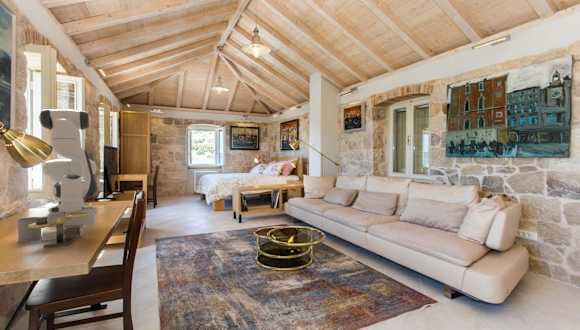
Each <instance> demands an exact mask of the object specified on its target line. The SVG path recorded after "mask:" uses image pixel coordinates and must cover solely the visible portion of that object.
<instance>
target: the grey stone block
mask: <svg viewBox="0 0 580 330" xmlns="http://www.w3.org/2000/svg"><path fill="white" fill-rule="evenodd" d="M41 239H42V240H41V241H42V242H43V241H51V240H52V239H57V237H56V228H55V229H47V230H42V232H41Z"/></svg>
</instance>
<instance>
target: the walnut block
mask: <svg viewBox="0 0 580 330" xmlns="http://www.w3.org/2000/svg"><path fill="white" fill-rule="evenodd" d="M64 230H65V235H64V238H75V240H76V239H78V238H79V237H81V234H78V231H79V230H81V225H78V226H67V227H66V228H64Z"/></svg>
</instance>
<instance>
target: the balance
mask: <svg viewBox="0 0 580 330" xmlns="http://www.w3.org/2000/svg"><path fill="white" fill-rule="evenodd" d="M88 215H89V213H85V212H81V213H71V214H67V215H65V218H68V219H64V220H63V219H57V220H56V222H47V216H36V217H37V218H36V223H33V224H30V225H28V228H41V229H43V228H49V227H48V226H52V225H55V224H56V227H55V229H56V239H52V240H48V242H46V243H44V244H43V246H42V247H43V248H45V249H46V248H55V247H66V246H67V247H68V246H69V245H71V244H72V243H74V242H75V241H76V239H75V238H65V237H64V235H63V223H64V222H66V221H70V220H73V219H77V218H79V217H85V216H88Z"/></svg>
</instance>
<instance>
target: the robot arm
mask: <svg viewBox="0 0 580 330" xmlns="http://www.w3.org/2000/svg"><path fill="white" fill-rule="evenodd" d="M38 120H39V122H40V124H41V126H42V127H43V128H45V129H48V130H49V131H51V147H52V150H53V151H54V152H55V154H57V155H59V156H61V157H64V158H65V159H51V160H50V159H49V160H47V161H45V162H44V164H43V165H42V172H43V174H44V175H45V176H46V177H48V178H49V179H51V180H52V181H53V182H54V185H53V196H54V197H55V198H57V199H59V200H58V203H57V205H54V206H52V207H50V208H48V214H47V215H46V217H47V222H56V220H57V219H63V220H64V219H68V218H65V215H67V214H71V213H81V212H85V213H89V215H88V216H85V217H79V218H77V219H73V220H70V221H66V222H64V223H63V236H65V230H64V229H65V227H75V226H80V230H79V231H78V234H80V235H82V234H83V233H84V232H83V231H84V229H85V227H86V226H91V225H95V224H96V223H97V222H98V217H97V212H98V209H97V208H96V207H95V206H94V205H93V206H91V205H90V206H85V199H87V198H88V199H90V198H93V197H94V196H95V195H96V194H97V193H98V185H97V182H96V179H95V176H94V175H95V173H97V169H98V167H97V164H96V163H95V161H94V160H92V159H90V157H89V154H88V152H87V150H85V149H83V148H82V144H81V141H82V140H81V133H80V130H81V131H82V130H87V129H88V128H90V126H91V122H92V119H91V116H90V115H89V113H88V112H87V111H85V110H76V109H68V108H67V109H59V108H58V109H50V108H48V109H47V108H46V109H42V110H41V111H40V113H39V115H38ZM82 178H83V179H82ZM47 228H56V224H55V225H52V226H48V227H47Z"/></svg>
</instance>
